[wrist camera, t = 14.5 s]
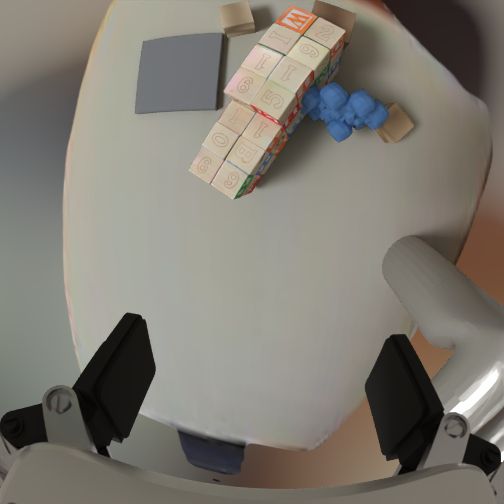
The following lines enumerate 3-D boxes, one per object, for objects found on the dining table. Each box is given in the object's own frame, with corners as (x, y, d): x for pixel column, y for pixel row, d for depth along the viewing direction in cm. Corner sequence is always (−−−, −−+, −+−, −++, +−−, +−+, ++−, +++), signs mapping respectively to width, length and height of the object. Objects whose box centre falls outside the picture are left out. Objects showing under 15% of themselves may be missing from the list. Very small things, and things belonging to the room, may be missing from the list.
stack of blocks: (252, 194, 36) (222, 204, 25) (215, 169, 36) (172, 169, 25) (338, 71, 29) (347, 29, 17) (299, 49, 29) (290, 3, 17)
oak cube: (401, 126, 32) (414, 126, 28) (384, 142, 33) (396, 142, 29) (384, 105, 31) (396, 102, 27) (367, 121, 32) (377, 119, 28)
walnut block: (340, 36, 27) (356, 14, 20) (333, 62, 29) (348, 43, 22) (307, 24, 27) (315, -1, 20) (299, 50, 29) (306, 28, 21)
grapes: (292, 141, 35) (281, 126, 23) (297, 96, 32) (287, 64, 21) (375, 155, 32) (400, 148, 21) (379, 109, 30) (404, 85, 19)
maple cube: (249, 12, 27) (247, 0, 23) (255, 32, 28) (254, 21, 25) (222, 18, 27) (217, 7, 24) (227, 38, 29) (223, 28, 25)
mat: (223, 35, 29) (222, 32, 27) (216, 110, 33) (215, 109, 32) (146, 43, 29) (142, 41, 28) (138, 114, 34) (134, 113, 32)
